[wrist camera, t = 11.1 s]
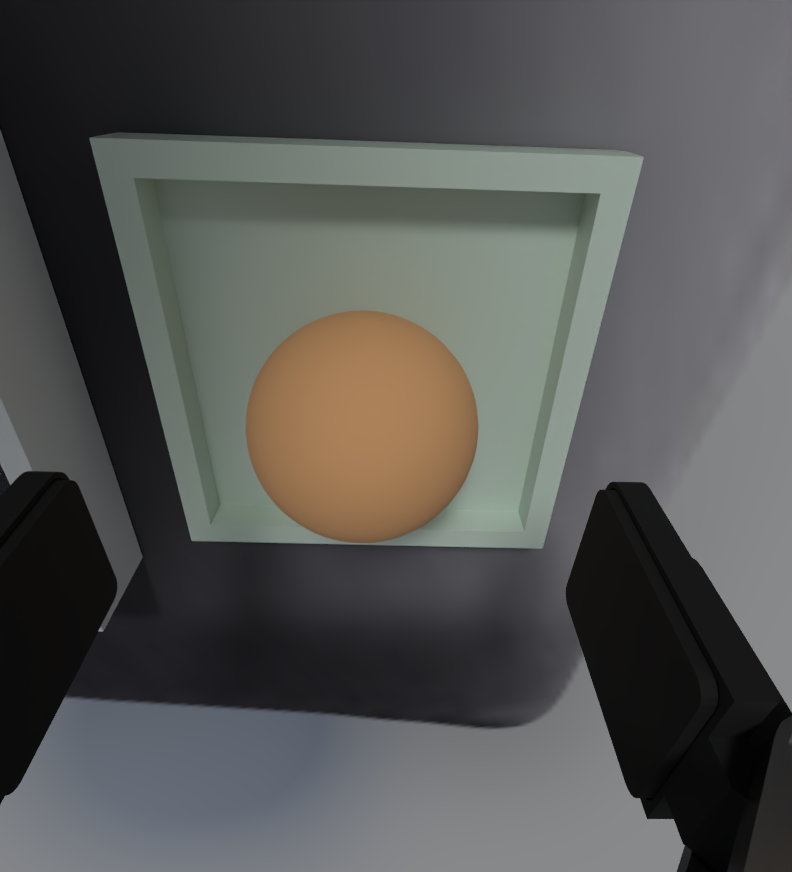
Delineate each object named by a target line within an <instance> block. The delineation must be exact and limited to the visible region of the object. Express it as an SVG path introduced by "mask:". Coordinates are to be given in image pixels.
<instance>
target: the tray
mask: <svg viewBox="0 0 792 872" xmlns="http://www.w3.org/2000/svg"><path fill="white" fill-rule="evenodd" d="M89 139H90V143H91V147H92V151H93V155H94V159H95V163H96V167H97V171H98V175H99V179H100V183H101V186H102V190H103V194H104V198H105V202H106V206H107V210H108V214H109V218H110V222H111V226H112V230H113V234H114V238H115V242H116V245H117V249H118V253H119V257H120V261H121V265H122V269H123V273H124V277H125V281H126V285H127V289H128V293H129V297H130V301H131V305H132V308H133V312H134V316H135V320H136V324H137V328H138V332H139V336H140V340H141V344H142V348H143V352H144V356H145V360H146V364H147V367H148V371H149V375H150V379H151V383H152V387H153V391H154V395H155V399H156V403H157V407H158V411H159V415H160V419H161V423H162V427H163V430H164V434H165V438H166V442H167V446H168V450H169V454H170V458H171V462H172V466H173V470H174V474H175V478H176V482H177V486H178V490H179V493H180V497H181V501H182V505H183V509H184V513H185V517H186V521H187V525H188V529H189V533H190V537H191V541H217V542H263V543H308V544H354V545H400V546H446V547H492V548H538V549H543V545H544V542H545V538H546V534H547V530H548V526H549V522H550V518H551V514H552V511H553V507H554V503H555V499H556V495H557V491H558V487H559V484H560V480H561V476H562V472H563V468H564V464H565V460H566V456H567V453H568V449H569V445H570V441H571V437H572V433H573V429H574V425H575V422H576V418H577V414H578V410H579V406H580V402H581V398H582V395H583V391H584V387H585V383H586V379H587V375H588V371H589V367H590V364H591V360H592V356H593V352H594V348H595V344H596V340H597V336H598V333H599V329H600V325H601V321H602V317H603V313H604V309H605V306H606V302H607V298H608V294H609V290H610V286H611V282H612V278H613V275H614V271H615V267H616V263H617V259H618V255H619V251H620V248H621V244H622V240H623V236H624V232H625V228H626V224H627V220H628V217H629V213H630V209H631V205H632V201H633V197H634V193H635V189H636V186H637V182H638V178H639V174H640V170H641V166H642V162H643V159H644V157H642V156H639V155H636V154H633V153H630V152H626V151H623V150H612V149H583V148H555V147H526V146H497V145H469V144H440V143H412V142H383V141H355V140H326V139H297V138H269V137H240V136H212V135H183V134H155V133H126V132H117V133H111V134H106V135H101V136H95V137H90V138H89ZM364 310H366V311H377V312H383V313H388V314H392V315H396V316H398V317H401V318H404V319H407V320H409V321H411V322H413V323H415V324H417V325H419V326H421V327H422V328H424V329H425V330H427V331H428V332H430V333H431V334H433V335H434V336H435V337H437V338H438V339H439V340H440V341H441V342H442V343H443V344H444V345H445V346H446V347H447V348H448V349H449V350H450V352H451V353H452V354H453V355H454V356H455V358H456V359H457V360H458V362H459V363H460V365H461V367H462V368H463V370H464V372H465V373H466V376H467V378H468V380H469V383H470V385H471V388H472V390H473V393H474V397H475V401H476V405H477V415H478V425H479V428H478V441H477V448H476V452H475V457H474V461H473V463H472V466H471V468H470V471H469V473H468V476H467V478H466V480H465V482H464V484H463V485H462V487H461V489H460V490H459V492H458V493H457V495H456V496H455V497H454V499H453V500H452V501H451V502H450V504H449V505H448V506H447V507H446V508H445V509H444V510H443V511H442V512H441V513H440V514H438V515H437V516H436V517H435V518H433V519H432V520H431V521H429V522H428V523H427V524H425V525H424V526H422V527H420V528H418V529H417V530H415V531H412V532H410V533H408V534H405V535H403V536H400V537H397V538H394V539H391V540H386V541H381V542H373V543H351V542H344V541H338V540H334V539H330V538H326V537H324V536H321V535H318V534H316V533H314V532H312V531H310V530H308V529H306V528H304V527H303V526H301V525H300V524H298V523H296V522H295V521H293V520H292V519H291V518H289V517H288V516H287V515H286V514H284V513H283V512H282V511H281V510H280V509H279V508H278V507H277V506H276V504H275V503H274V502H273V501H272V499H271V498H270V497H269V496H268V494H267V493H266V492H265V490H264V489H263V487H262V485H261V483H260V482H259V480H258V478H257V475H256V473H255V471H254V468H253V466H252V463H251V460H250V456H249V452H248V447H247V441H246V415H247V405H248V401H249V397H250V393H251V390H252V387H253V385H254V382H255V380H256V378H257V375H258V373H259V372H260V370H261V368H262V367H263V365H264V364H265V362H266V361H267V359H268V358H269V356H270V355H271V354H272V352H273V351H274V350H275V349H276V348H277V347H278V346H279V345H280V344H281V343H282V342H283V341H284V340H285V339H287V338H288V337H289V336H290V335H291V334H293V333H294V332H295V331H297V330H298V329H300V328H301V327H303V326H305V325H306V324H308V323H310V322H313V321H315V320H317V319H319V318H322V317H326V316H329V315H333V314H336V313H341V312H348V311H364Z"/></svg>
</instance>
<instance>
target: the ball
mask: <svg viewBox="0 0 792 872" xmlns="http://www.w3.org/2000/svg"><path fill="white" fill-rule="evenodd" d="M478 428H479V425H478V415H477V405H476V401H475V397H474V393H473V390H472V388H471V385H470V383H469V380H468V378H467V376H466V373H465V372H464V370H463V368H462V367H461V365H460V363H459V362H458V360H457V359H456V358H455V356H454V355H453V354H452V353H451V352H450V350H449V349H448V348H447V347H446V346H445V345H444V344H443V343H442V342H441V341H440V340H439V339H438V338H437V337H435V336H434V335H433V334H431V333H430V332H428V331H427V330H425V329H424V328H422V327H421V326H419V325H417V324H415V323H413V322H411V321H409V320H407V319H404V318H401V317H398V316H396V315H392V314H388V313H383V312H377V311H366V310H364V311H348V312H341V313H336V314H333V315H329V316H326V317H322V318H319V319H317V320H315V321H313V322H310V323H308V324H306V325H305V326H303V327H301V328H300V329H298V330H297V331H295V332H294V333H293V334H291V335H290V336H289V337H288V338H287V339H285V340H284V341H283V342H282V343H281V344H280V345H279V346H278V347H277V348H276V349H275V350H274V351H273V352H272V354H271V355H270V356H269V358H268V359H267V361H266V362H265V364H264V365H263V367H262V368H261V370H260V372H259V373H258V375H257V378H256V380H255V382H254V385H253V387H252V390H251V393H250V397H249V401H248V405H247V415H246V441H247V447H248V452H249V456H250V460H251V463H252V466H253V468H254V471H255V473H256V475H257V478H258V480H259V482H260V483H261V485H262V487H263V489H264V490H265V492H266V493H267V494H268V496H269V497H270V498H271V499H272V501H273V502H274V503H275V504H276V506H277V507H278V508H279V509H280V510H281V511H282V512H283V513H284V514H286V515H287V516H288V517H289V518H291V519H292V520H293V521H295V522H296V523H298V524H300V525H301V526H303V527H304V528H306V529H308V530H310V531H312V532H314V533H316V534H318V535H321V536H324V537H326V538H330V539H334V540H338V541H344V542H351V543H373V542H381V541H386V540H391V539H394V538H397V537H400V536H403V535H405V534H408V533H410V532H412V531H415V530H417V529H418V528H420V527H422V526H424V525H425V524H427V523H428V522H429V521H431V520H432V519H433V518H435V517H436V516H437V515H438V514H440V513H441V512H442V511H443V510H444V509H445V508H446V507H447V506H448V505H449V504H450V502H451V501H452V500H453V499H454V497H455V496H456V495H457V493H458V492H459V490H460V489H461V487H462V485H463V484H464V482H465V480H466V478H467V476H468V473H469V471H470V468H471V466H472V463H473V461H474V457H475V452H476V448H477V441H478Z"/></svg>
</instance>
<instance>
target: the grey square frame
mask: <svg viewBox="0 0 792 872" xmlns="http://www.w3.org/2000/svg"><path fill="white" fill-rule="evenodd" d="M0 464H1V466H2V469H3V471H4V473H5V475H6V477H7V479H8V481H9V483H10V485H11V484H12V483H13V482H14V481H15V480H16V479H17V478H18V476H20V475H21V474H22V473H24V472H27V471H48V472H63V473H65V474H66V475H67V476H68V478H69V479H70V480H73V481H75V482H76V483H77V484H78V486H79V488H80V490H81V493H82V495H83V498H84V500H85V503H86V505H87V508H88V510H89V513H90V515H91V517H92V520H93V522H94V525H95V527H96V530H97V532H98V535H99V537H100V539H101V542H102V544H103V547H104V549H105V552H106V554H107V557H108V559H109V562H110V564H111V566H112V569H113V571H114V574H115V576H116V579H117V593H116V597H115V599H114V602H113V604H112V605H111V607H110V609H109V611H108V613H107V615H106V617H105V619H104V621H103V623H102V625H101V627H100V629H99V631H101V632H103V631H104V629H105V627H106V625H107V624H108V622H109V620H110V618H111V616H112V614H113V612H114V610H115V608H116V607H117V605H118V603H119V601H120V599H121V597H122V595H123V593H124V592H125V590H126V588H127V586H128V584H129V582H130V580H131V578H132V576H133V575H134V573H135V571H136V569H137V567H138V565H139V563H140V561H141V559H142V558H143V556H142V553H141V550H140V547H139V544H138V541H137V538H136V535H135V532H134V529H133V526H132V523H131V520H130V517H129V514H128V511H127V508H126V505H125V502H124V499H123V496H122V493H121V490H120V487H119V484H118V481H117V478H116V475H115V472H114V469H113V466H112V463H111V460H110V457H109V454H108V451H107V448H106V445H105V442H104V439H103V436H102V433H101V430H100V427H99V424H98V421H97V418H96V415H95V412H94V409H93V406H92V403H91V400H90V397H89V394H88V391H87V388H86V385H85V382H84V379H83V376H82V373H81V370H80V367H79V364H78V361H77V358H76V355H75V352H74V349H73V346H72V343H71V340H70V337H69V334H68V331H67V328H66V325H65V322H64V319H63V316H62V313H61V310H60V307H59V304H58V301H57V298H56V295H55V292H54V289H53V286H52V283H51V280H50V277H49V274H48V271H47V268H46V265H45V262H44V259H43V256H42V253H41V250H40V247H39V244H38V241H37V238H36V235H35V232H34V229H33V226H32V223H31V220H30V217H29V214H28V211H27V208H26V205H25V202H24V199H23V196H22V193H21V190H20V187H19V184H18V181H17V178H16V175H15V172H14V169H13V166H12V163H11V160H10V157H9V154H8V151H7V148H6V145H5V142H4V139H3V136H2V133H1V130H0Z"/></svg>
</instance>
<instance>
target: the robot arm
mask: <svg viewBox="0 0 792 872" xmlns="http://www.w3.org/2000/svg"><path fill="white" fill-rule="evenodd" d="M116 593H117V579H116V576H115V574H114V571H113V569H112V566H111V564H110V562H109V559H108V557H107V554H106V552H105V549H104V547H103V544H102V542H101V539H100V537H99V535H98V532H97V530H96V527H95V525H94V522H93V520H92V517H91V515H90V513H89V510H88V508H87V505H86V503H85V500H84V498H83V495H82V493H81V490H80V488H79V486H78V484H77V483H76V482H75V481H73V480H70V479H69V478H68V476H67V475H66V474H65V473H63V472H48V471H27V472H24V473H22V474H21V475H20V476H18V478H17V479H16V480H15V481H14V482H13V483H12V484H11V485H10V486H9V488H8V489H7V490H6V491H5V492H4V493H3V494H2V495H1V496H0V804H1V802H2V800H3V798H4V796H5V795H9V794H10V793H12V792H13V791H14V790H15V789H16V788H17V787H18V785H19V784H20V782H21V780H22V779H23V776H24V774H25V773H26V771H27V769H28V767H29V765H30V763H31V761H32V759H33V757H34V755H35V753H36V751H37V749H38V747H39V745H40V744H41V741H42V740H43V738H44V736H45V734H46V732H47V730H48V728H49V726H50V724H51V722H52V720H53V718H54V716H55V714H56V712H57V710H58V709H59V707H60V705H61V703H62V701H63V699H64V697H65V695H66V693H67V691H68V689H69V687H70V685H71V683H72V681H73V679H74V677H75V675H76V674H77V672H78V670H79V668H80V666H81V664H82V662H83V660H84V658H85V656H86V654H87V652H88V650H89V648H90V646H91V644H92V642H93V640H94V639H95V637H96V635H97V633H98V631H99V629H100V627H101V625H102V623H103V621H104V619H105V617H106V615H107V613H108V611H109V609H110V607H111V605H112V604H113V602H114V599H115V597H116ZM566 600H567V605H568V608H569V611H570V614H571V617H572V621H573V624H574V627H575V630H576V633H577V636H578V639H579V642H580V645H581V648H582V651H583V654H584V657H585V660H586V663H587V667H588V669H589V673H590V676H591V679H592V682H593V685H594V688H595V691H596V694H597V697H598V700H599V703H600V706H601V709H602V712H603V716H604V719H605V722H606V725H607V728H608V731H609V734H610V737H611V740H612V743H613V746H614V749H615V752H616V755H617V759H618V761H619V764H620V768H621V771H622V774H623V777H624V780H625V783H626V785H627V788H628V790H629V792H630V793H631V795H632V796H633V797H635V798H640V799H641V802H642V805H643V808H644V811H645V814H646V817H647V819H674V821H675V823H676V826H677V829H678V831H679V834H680V837H681V839H682V842H683V844H684V845H685V847H684V850H683V853H682V857H681V860H680V863H679V866H678V869H677V872H792V712H791V711H790V709H789V708H788V706H787V704H786V703H785V701H784V700H783V698H782V696H781V695H780V693H779V691H778V690H777V688H776V686H775V685H774V683H773V682H772V680H771V678H770V677H769V675H768V673H767V672H766V670H765V669H764V667H763V665H762V664H761V662H760V661H759V659H758V657H757V656H756V654H755V652H754V651H753V649H752V648H751V646H750V644H749V643H748V641H747V639H746V638H745V636H744V635H743V633H742V631H741V630H740V628H739V626H738V625H737V623H736V622H735V620H734V618H733V617H732V615H731V613H730V612H729V610H728V609H727V607H726V605H725V604H724V602H723V601H722V599H721V597H720V596H719V594H718V592H717V591H716V589H715V588H714V586H713V584H712V583H711V581H710V580H709V578H708V576H707V575H706V573H705V572H704V570H703V568H702V567H701V566H700V564H699V563H698V562H697V561H696V560H695V559H693V558H692V557H691V556H690V554H689V552H688V551H687V549H686V547H685V546H684V544H683V542H682V541H681V539H680V537H679V536H678V534H677V533H676V531H675V530H674V528H673V526H672V525H671V523H670V521H669V519H668V518H667V516H666V514H665V513H664V511H663V510H662V508H661V506H660V505H659V503H658V501H657V500H656V498H655V496H654V495H653V493H652V491H651V490H650V488H649V487H648V486H647V485H646V484H645V483H642V482H611V483H610V484H609V485H608V486H607V488H606V490H599V491H598V493H597V495H596V497H595V501H594V504H593V507H592V510H591V513H590V516H589V519H588V522H587V525H586V528H585V531H584V534H583V537H582V540H581V543H580V546H579V549H578V552H577V555H576V559H575V562H574V565H573V568H572V571H571V574H570V577H569V580H568V583H567V587H566Z"/></svg>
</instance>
